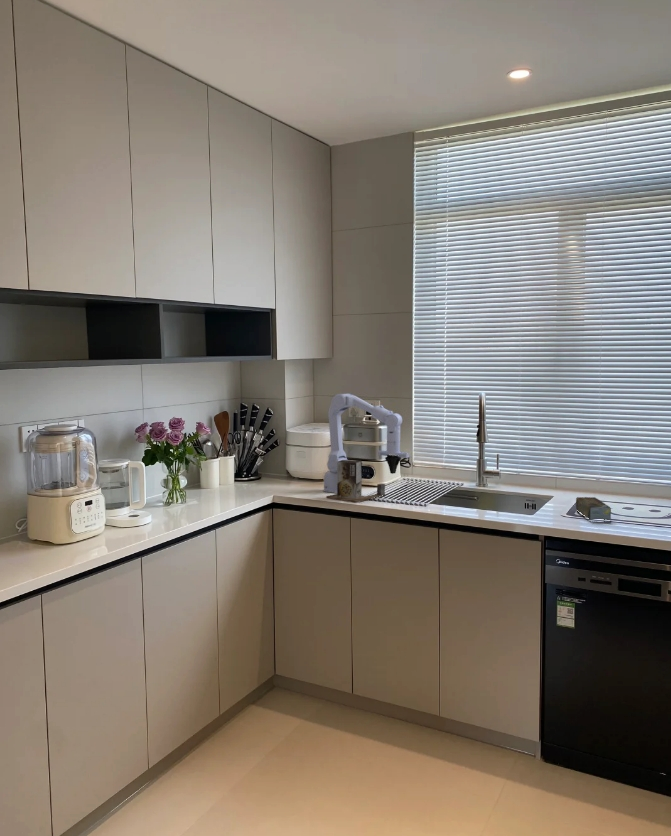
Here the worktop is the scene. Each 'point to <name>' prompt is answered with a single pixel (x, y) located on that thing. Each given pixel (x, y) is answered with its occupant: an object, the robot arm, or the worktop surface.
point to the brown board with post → (363, 498)
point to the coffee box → (349, 479)
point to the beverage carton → (593, 508)
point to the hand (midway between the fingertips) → (392, 473)
